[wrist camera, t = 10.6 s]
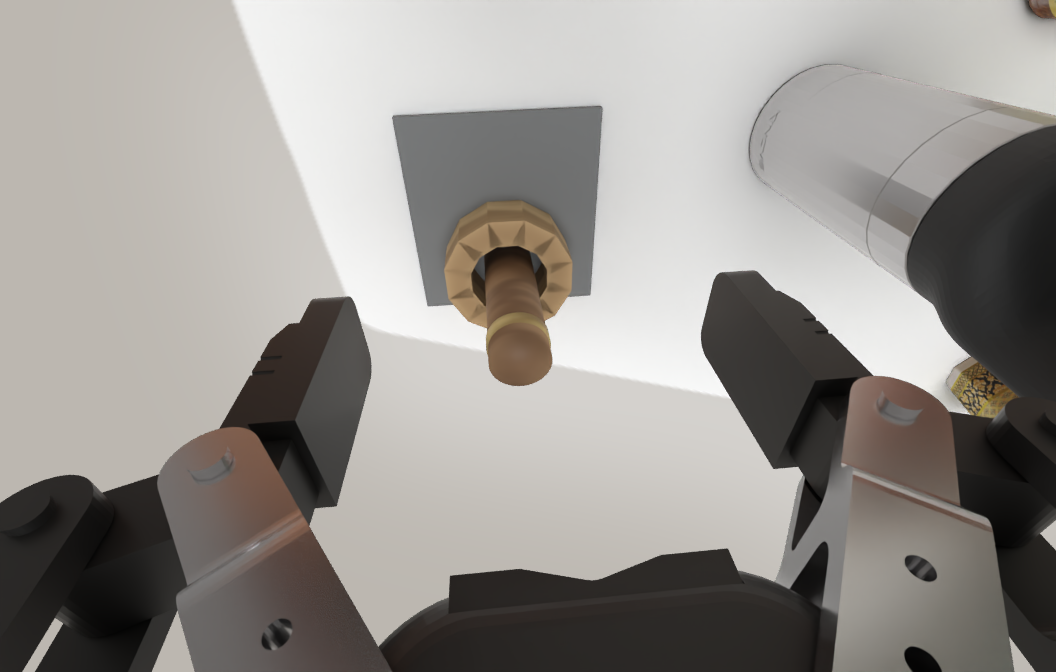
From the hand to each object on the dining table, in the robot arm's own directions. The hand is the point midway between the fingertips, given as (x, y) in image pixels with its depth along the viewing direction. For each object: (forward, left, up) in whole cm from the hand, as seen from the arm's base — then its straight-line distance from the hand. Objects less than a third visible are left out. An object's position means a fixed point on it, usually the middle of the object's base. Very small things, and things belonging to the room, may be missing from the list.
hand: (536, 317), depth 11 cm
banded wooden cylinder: (0, +13, -28) cm, 31 cm away
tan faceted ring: (0, +13, -28) cm, 31 cm away
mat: (0, +10, -28) cm, 30 cm away
